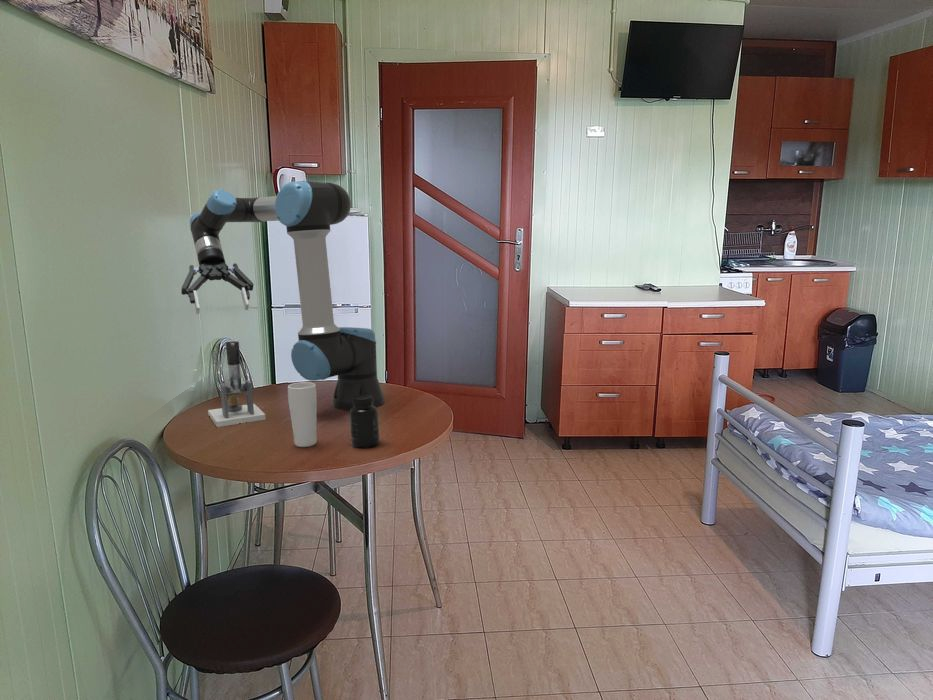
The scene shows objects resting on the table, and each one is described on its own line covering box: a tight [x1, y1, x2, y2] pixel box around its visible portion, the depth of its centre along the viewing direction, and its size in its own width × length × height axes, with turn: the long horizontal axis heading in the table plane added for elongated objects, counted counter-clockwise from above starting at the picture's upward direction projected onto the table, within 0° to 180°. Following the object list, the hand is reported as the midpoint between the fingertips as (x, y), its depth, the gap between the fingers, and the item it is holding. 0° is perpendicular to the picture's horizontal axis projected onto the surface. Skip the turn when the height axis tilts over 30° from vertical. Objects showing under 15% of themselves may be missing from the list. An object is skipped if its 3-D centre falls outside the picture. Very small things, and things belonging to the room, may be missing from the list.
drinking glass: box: [287, 381, 318, 448], centre depth 166 cm, size 7×7×15 cm
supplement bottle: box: [349, 395, 380, 449], centre depth 166 cm, size 7×7×12 cm
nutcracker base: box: [207, 379, 267, 428], centre depth 192 cm, size 14×13×10 cm
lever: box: [224, 340, 247, 395], centre depth 190 cm, size 10×5×14 cm, turn 29°
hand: (223, 309), depth 198 cm, fingers open, 13 cm apart
